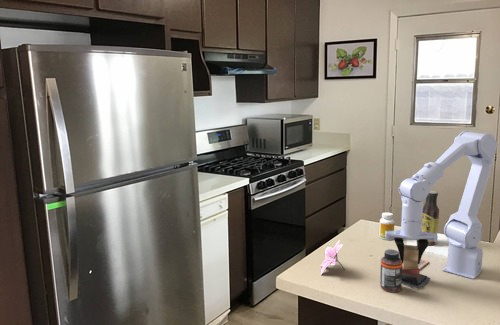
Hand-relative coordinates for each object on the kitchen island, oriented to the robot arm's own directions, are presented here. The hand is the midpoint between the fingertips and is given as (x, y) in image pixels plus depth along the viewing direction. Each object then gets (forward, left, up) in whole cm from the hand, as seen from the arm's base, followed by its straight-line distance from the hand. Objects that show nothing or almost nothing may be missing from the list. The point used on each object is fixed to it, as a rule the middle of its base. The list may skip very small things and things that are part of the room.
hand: (409, 262), depth 131 cm
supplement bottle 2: (+2, +9, -6) cm, 11 cm away
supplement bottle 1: (+22, -29, -6) cm, 37 cm away
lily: (+21, +10, -6) cm, 24 cm away
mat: (+6, -11, -6) cm, 14 cm away
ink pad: (0, 0, -6) cm, 6 cm away
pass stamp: (0, 0, -3) cm, 3 cm away
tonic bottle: (+8, -34, -6) cm, 35 cm away
